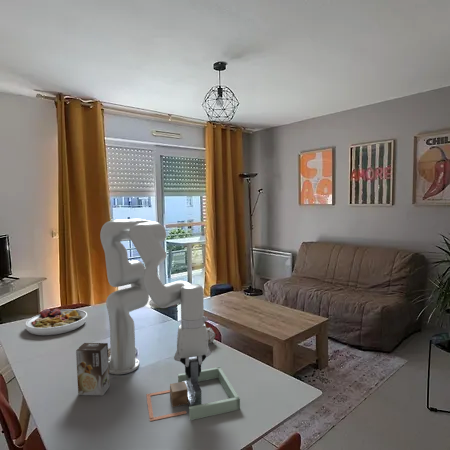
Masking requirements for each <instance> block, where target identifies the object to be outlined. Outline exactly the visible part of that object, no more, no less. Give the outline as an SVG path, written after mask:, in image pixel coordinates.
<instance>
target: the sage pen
mask: <svg viewBox="0 0 450 450" xmlns="http://www.w3.org/2000/svg"><path fill="white" fill-rule="evenodd" d="M221 367H222V366H217V367H211V368H205V369H201V372H200V376H199V377H198V382H202V381H208V380H213V379H214V380H215V379H218V381H219V382H220V384H221V385H222V387H223V389H224V391H225V392H226V394H227V396H228V397H229V398H226V399H221V400H216V401H211V402H205V403H202V404H201V405H196V406H191V407H189V406H188V417H189V418H188V419H189V421H193V420H198V419H202V418H203V419H204V418H207V417H212V416H215V415H221V414H225V413H229V412H234V411H238V410H241V398H240V397H239V394H238V393H237V392H236V390H235V389H234V387H233V385H232V383H231V382H230V381H229V378H228V377H227V376H226V374H225V372H224V371H223V369H222V368H221ZM182 381H186V374H185V372H182V373H178V374H177V383H178V382H182Z"/></svg>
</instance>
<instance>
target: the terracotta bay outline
mask: <svg viewBox="0 0 450 450" xmlns="http://www.w3.org/2000/svg"><path fill="white" fill-rule="evenodd" d="M168 393H169V394H170V389H168V390H167V389H166V390H162V391H156V392H152V393H147V394H146V402H147V408H148V409H147V410H148V418H149V422H153V421H158V420H162V419H168V418H173V417H177V416H181V415H186V414H187V411H186V410H182V411H177V412H172V413H169V414H163V415H159V416H154V412H153V405H152V396H158V395H164V394H168Z"/></svg>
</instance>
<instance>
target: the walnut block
mask: <svg viewBox="0 0 450 450" xmlns="http://www.w3.org/2000/svg"><path fill="white" fill-rule="evenodd" d="M169 390H170V392H169V397H170V403H171V407H172V408H175V407H180V406H183V405H189V404H188V389H187V386H186V384H185V381H184V382H178V381H177V382H174V383H170V384H169Z"/></svg>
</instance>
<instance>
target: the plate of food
mask: <svg viewBox="0 0 450 450" xmlns="http://www.w3.org/2000/svg"><path fill="white" fill-rule="evenodd" d="M87 319H88V313H87V311H85V310H82V309H71V308H70V309H69V308H68V309H67V308H66V309H59V308H54V309H52V310H51V309H49V308H45V309H43V310H41V311H40V313H39V314H37V315H35V316H32V317H31V318H28V319H27V320H26V321H25V329H26V331H28V333H30V334H32V335H36V336H53V335H60V334H65V333H68V332H72V331H74V330H77V329H79V328H80V327H82V326H83V325H84V324H85V323H86V321H87Z"/></svg>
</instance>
